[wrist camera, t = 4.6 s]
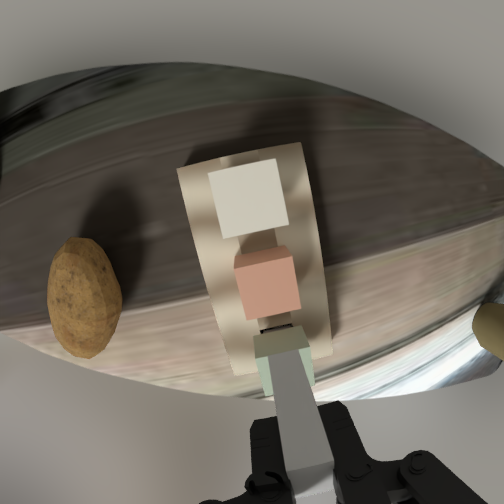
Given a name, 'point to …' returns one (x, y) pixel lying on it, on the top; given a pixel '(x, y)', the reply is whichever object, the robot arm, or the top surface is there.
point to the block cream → (248, 198)
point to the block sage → (281, 351)
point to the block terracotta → (267, 282)
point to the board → (224, 250)
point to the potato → (83, 297)
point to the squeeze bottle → (490, 328)
